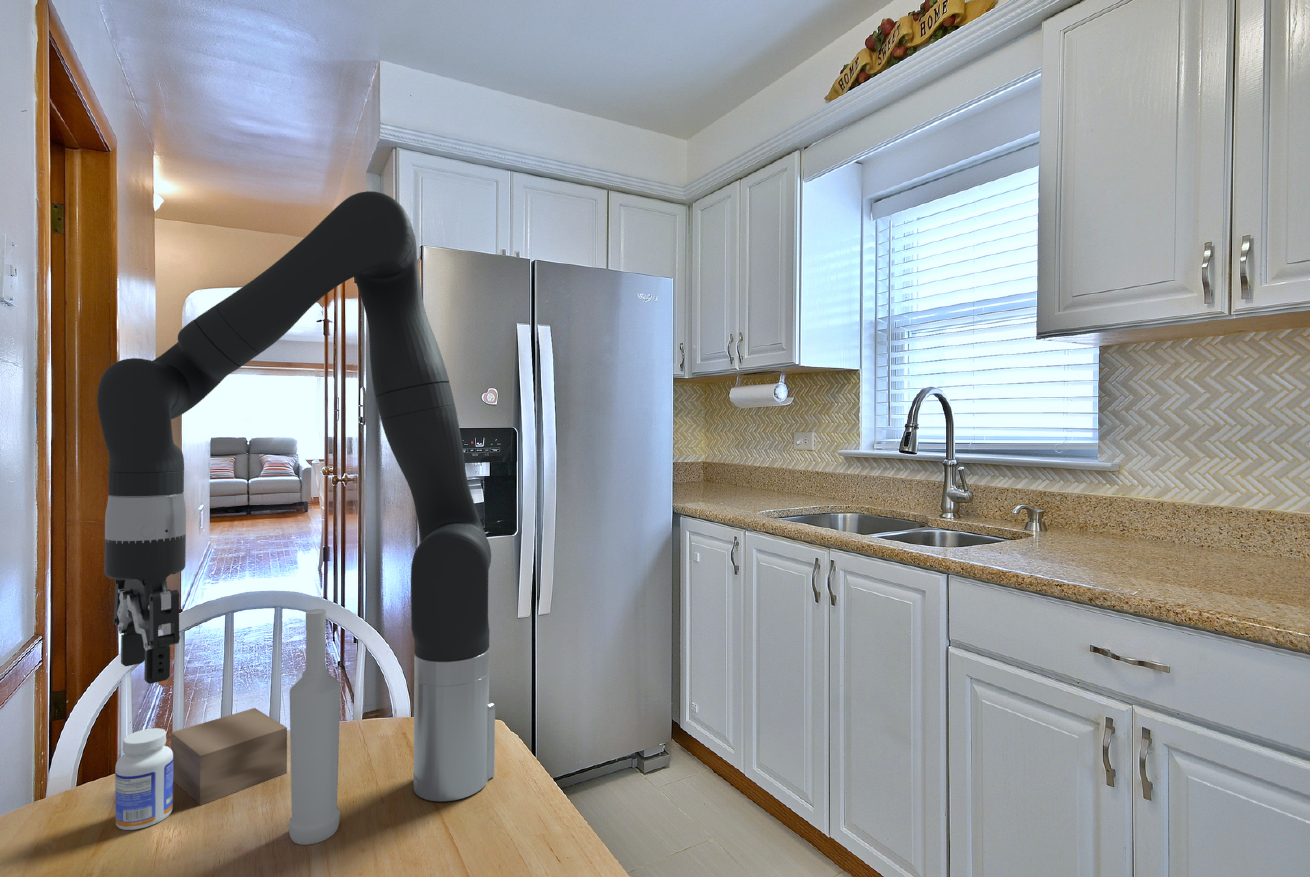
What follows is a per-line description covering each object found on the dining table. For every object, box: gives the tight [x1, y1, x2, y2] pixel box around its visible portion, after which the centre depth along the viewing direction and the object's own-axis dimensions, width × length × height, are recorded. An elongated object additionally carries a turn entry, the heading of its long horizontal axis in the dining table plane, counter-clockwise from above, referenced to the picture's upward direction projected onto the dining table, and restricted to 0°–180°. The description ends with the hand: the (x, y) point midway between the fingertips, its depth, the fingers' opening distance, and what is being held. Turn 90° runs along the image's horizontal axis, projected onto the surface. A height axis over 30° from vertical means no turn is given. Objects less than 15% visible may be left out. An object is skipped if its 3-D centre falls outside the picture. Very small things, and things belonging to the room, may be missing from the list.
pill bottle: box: [114, 727, 174, 831], centre depth 79 cm, size 5×5×10 cm
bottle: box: [288, 608, 341, 846], centre depth 76 cm, size 5×5×25 cm
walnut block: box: [170, 707, 288, 806], centre depth 89 cm, size 10×10×6 cm
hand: (144, 672), depth 79 cm, fingers open, 8 cm apart
